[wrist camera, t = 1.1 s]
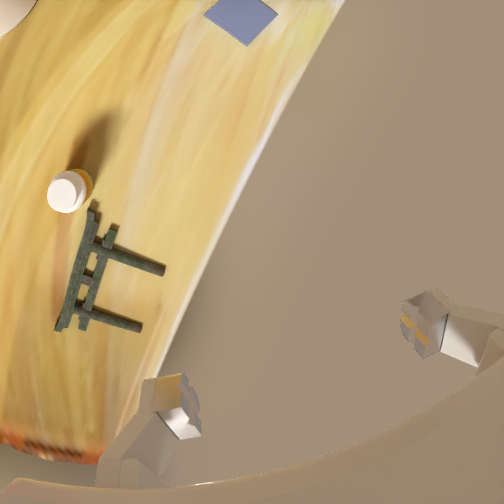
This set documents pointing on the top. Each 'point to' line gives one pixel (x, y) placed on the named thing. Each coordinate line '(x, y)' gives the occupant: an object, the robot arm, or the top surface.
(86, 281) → the miniature torii gate
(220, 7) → the pad
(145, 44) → the top surface
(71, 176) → the supplement bottle
